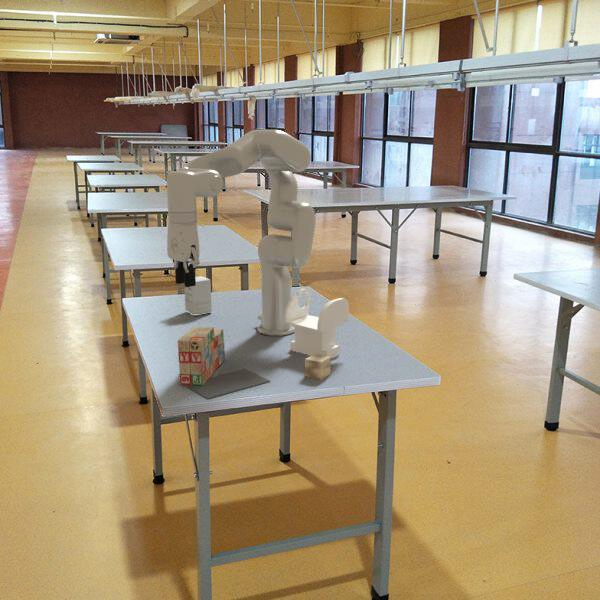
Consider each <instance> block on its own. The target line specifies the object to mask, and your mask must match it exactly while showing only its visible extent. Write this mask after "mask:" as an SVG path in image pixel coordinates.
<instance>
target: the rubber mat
mask: <svg viewBox="0 0 600 600" xmlns="http://www.w3.org/2000/svg"><path fill="white" fill-rule="evenodd" d="M270 382H271V380H270V379H268V378H266V377H263V376H261V375H259V374H258V373H255V372H253V371H251V370H249V369H247V368H240V369H237V370H233V371H228V372H226V373H221V374H218V375H214V376H213V375H212V376H211V377H210V378H209V379H208V380H207V381H206V382H205V384H204V385H203V386H201V385H183V386H184V387H186V388H188V389H189V390H191V391H193V392H194V393H196V394H198V395H200V396H202V397H204V398H205V399H207V400H210V399H214V398H217V397H221V396H225V395H228V394H231V393H235V392H239V391H242V390H245V389H249V388H250V389H251V388H253V387H256V386H259V385H264V384H267V383H270Z"/></svg>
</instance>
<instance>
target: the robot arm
mask: <svg viewBox="0 0 600 600" xmlns="http://www.w3.org/2000/svg"><path fill="white" fill-rule="evenodd" d="M311 157H312V156H311V151H310V149H309V148H308V146H307V145H306V144H304V143H303V142H302V141H301V140H298V139H297V138H295V137H293V136H292V135H290V134H289V133H287V132H284V131H282V130H279V129H253V130H249V131H248V132H247V133H245V134H244V135H242V136H241V137H239V138H238V139H236V140H235V141H232V143H230V144H229V145H227V146H225V147H223V148H221V149H217V150H215V151H211V152H209V153H207V154H204V155H200V156H198V157H196V158H194V159H192V160H190V161H189V162H187V163H186V164H184V165H183V166H181V167H180V168H179V169H178V170H173V171H170V172H168V173H167V174H166V194H167V195H166V197H167V213H168V225H167V233H166V234H167V235H166V236H167V240H166V241H167V243H166V244H167V245H166V247H167V248H166V249H167V257H168V258H169V259H171V260H172V263H173V269H174V273H175V274H174V275H175V279H174V280H175V284H177V285H179V284H180V285H181V284H183V286H185V287H191V286H195V285H196V279H195V277H196V272H197V267H198V266H199V265H200V263H201V262H200V241H199V240H200V239H199V231H198V226H197V224H198V214H197V210H198V209H197V207H198V206H197V198H198V197H199V198H212V197H215V196H217V195H219V194H220V193H221V191H222V190H223V188H224V187H223V186H224V180H223V178H230V177H234V176H237V175H238V176H239V175H241V174H242V173H244V172H246V171H247V170H248V169H250V168H251V167H253V166H254V165H255V164H256V163H258V162H259V161H260V162H261V165H262V166H263V168H264V170H265V171H266V173H267V175H268V177H269V180H270V193H269V201H268V209H267V216H266V217H267V218H266V221H267V225H268V226H269V228H270V229H272V230H275V231H279V232H288V233H292V236H291V235H282V234H267V235H265V236H263V237H262V238H261V239H260V240H259V243H258V245H257V255H258V258H259V259H258V260H259V265H260V273H261V314H260V315H258V316H257V320H260V324H259V325H258V326H257V332H258V331H259V332H258V333H260V334H262V333H263V334H262V335H265V334H266V336H274V337H275V336H276V337H277V336H286V335H291V334H293V333H295V326H293V325H289V324H285V323H284V313H285V309H286V306H287V304H288V302H289V301H290V299H291V298H292V277H291V273H290V270H289V268H295V269H296V268H299V269H300V268H303V267H305V266H306V265H307V264H308V263H309V261H310V258H311V255H312V250H313V241H314V235H315V231H316V230H315V229H316V213H315V210H314V208H313V206H312V205H310V204H309V203H306V202H302V201H297V200H298V198H297V197H298V189H299V186H298V181H297V180H296V177H295V175H294V173H300V172H303V171H305V170H306V169H307V168H309V165H310V164H311V159H312V158H311ZM293 172H294V173H293ZM288 267H289V268H288Z"/></svg>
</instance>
